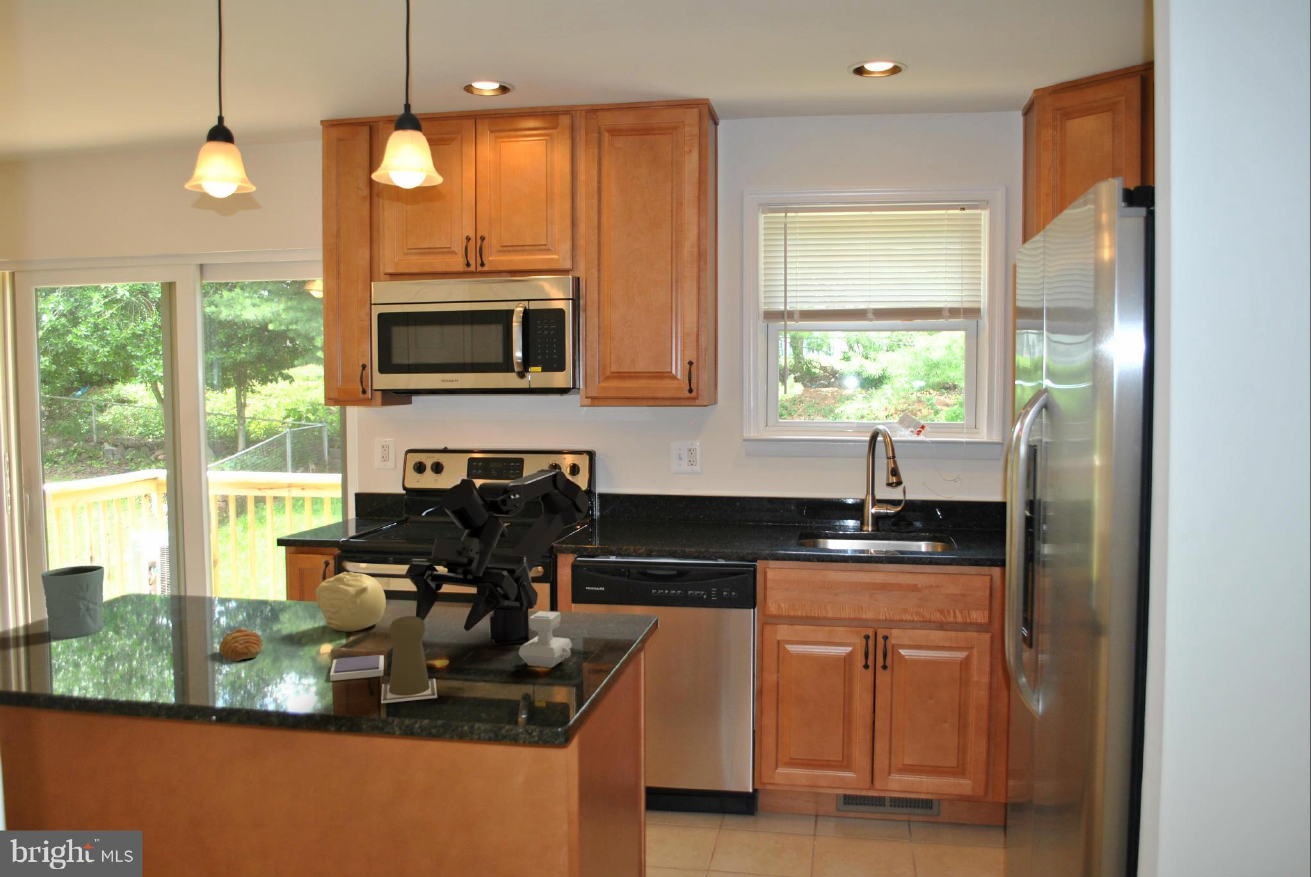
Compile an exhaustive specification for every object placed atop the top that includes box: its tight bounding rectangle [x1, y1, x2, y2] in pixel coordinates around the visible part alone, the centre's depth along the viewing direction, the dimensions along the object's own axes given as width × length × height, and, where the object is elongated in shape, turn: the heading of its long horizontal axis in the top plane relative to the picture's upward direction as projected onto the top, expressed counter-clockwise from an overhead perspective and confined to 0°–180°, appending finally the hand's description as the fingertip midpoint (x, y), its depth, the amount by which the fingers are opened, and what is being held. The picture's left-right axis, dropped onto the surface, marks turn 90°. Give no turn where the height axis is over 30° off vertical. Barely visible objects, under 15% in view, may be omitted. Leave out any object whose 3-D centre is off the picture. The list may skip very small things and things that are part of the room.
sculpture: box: [315, 571, 387, 633], centre depth 179 cm, size 12×12×11 cm
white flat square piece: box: [380, 678, 438, 704], centre depth 142 cm, size 8×8×1 cm
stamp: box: [518, 610, 573, 669], centre depth 155 cm, size 9×7×8 cm
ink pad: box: [329, 654, 385, 682], centre depth 153 cm, size 8×8×1 cm
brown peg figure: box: [389, 615, 430, 696], centre depth 142 cm, size 6×6×11 cm
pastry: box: [219, 628, 264, 662], centre depth 163 cm, size 9×7×4 cm
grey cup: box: [41, 565, 105, 640], centre depth 178 cm, size 10×10×12 cm
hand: (441, 626), depth 150 cm, fingers open, 9 cm apart
